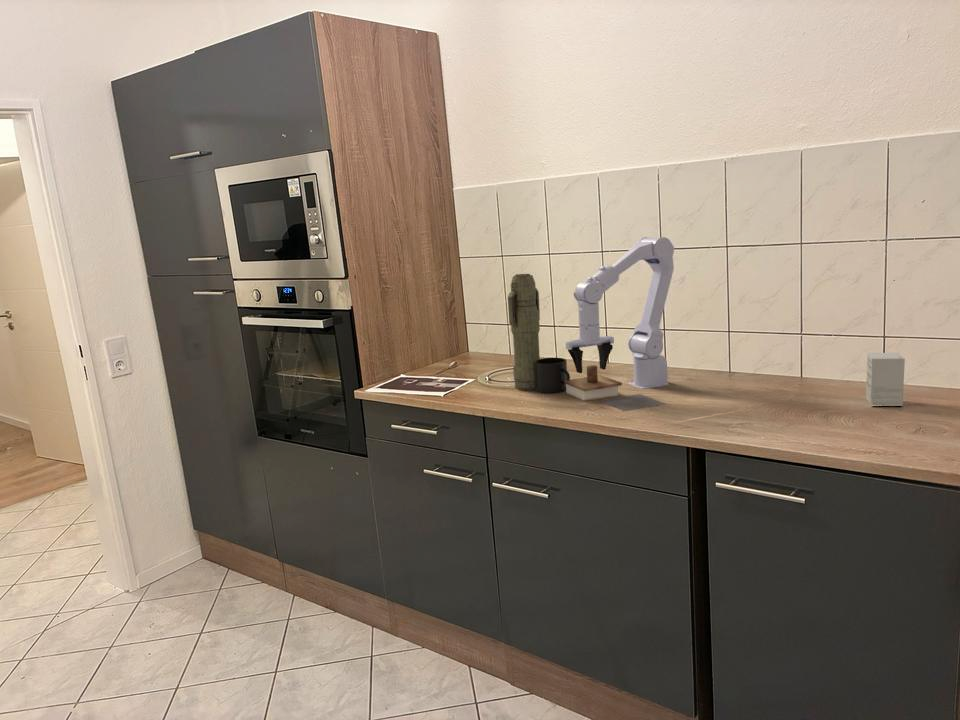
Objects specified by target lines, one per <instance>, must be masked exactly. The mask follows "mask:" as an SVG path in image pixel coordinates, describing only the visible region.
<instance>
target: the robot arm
mask: <svg viewBox="0 0 960 720" xmlns="http://www.w3.org/2000/svg"><path fill="white" fill-rule="evenodd" d="M675 248H676V247H675V246H674V245H673V243H672V241H671V240H670V239H669V238H667V237H664V236H662V237H647V236H644V237H641V238H640V239H639V240H638V241H636V242H634V244H633V246H632V247H631V248H630V249H629V250H627V251H626V252H625V253H624V254H623V255H622V256H621V257H620V258H619V259H617V261H615V262H614V263H613V264H612V265H609V264H607V265H601V266H600V267H599V270H598V271H597V272H596V273H594V274H593V275H592V276H588V277H587V280H586V281H583V282H579V284H577V285H576V288H575V290H574V292H573V297H574V298H575V299H574V300H576V301H577V307H578V309H577V310H578V324H579V325H578V326H579V327H578V329H579V339H575V340H571V341H566V342H565V349H566V350H567V352H568V353H569V355H570V356H571V360H572V361H573V363H574V367H575V370H576V371H575V372H576V373H579V374H582V373H583V354H584V351H583V350H581V348H587V347H594V346H596V347H597V351H598V359H599V362H598V363H599V369H601V370H606V369H607V363H608V359H609V357H610V354H611V352H612V350H613V349H614V347H613V344H615V337H614V336H612V335H609V336H608V335H607V336H601V335H600V333H601V332H600V329H601V328H600V311H599V310H600V307H599V305H600V304H599V302H600V301H601V300H602V298H603V294H604V293H606V292H607V291H608V290H609V289H610V288H612V287H613V286H614V285H616V283H618V282H619V281H620V275H621V274H623V273H624V272H625V271H626V270H628V269H629V268H632V266H633V265H635V264H637V263H638V262H639V261H645V263H646V264H648V265H649V266H650V269H651V270H652V271H653V272H652V277H651V280H650V284H649V288H648V292H647V296H646V301H645V305H644V308H643V313H642V317H641V320H640V323H639V324H637V325H636V326H634V330H633V332H632V335H631V336H630V337H629V338H628V343H627V344H628V345H627V346H628V349H629V351H630V352H631V353H632V356H633V381H632V382H628V385H630V386H633V387H635V388H638V389H640V390H646V389H651V388H657V387H664V386H669V385H670V384H669V382H668V379H669V378H668V362H667V361H668V360H667V359H666V357H665V356H664V355H663V354H661V353H662V352H663V349H664V341H663V339H664V332H663V331H662V329H661V327H660V326H661V323H662V322H661V321H662V316H663V313H664V310H665V306H666V305H665V304H666V301H667V298H668V293H669V289H670V285H671V280H672V277H673V274H674V258H673V257H674V253H675Z"/></svg>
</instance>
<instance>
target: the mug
mask: <svg viewBox="0 0 960 720" xmlns="http://www.w3.org/2000/svg"><path fill="white" fill-rule="evenodd" d="M535 366H536V385H537V389H536V390H537V391H538V392H540V393H542V394H543V393H544V394H556V393H558V394H559V393H562V392H565V391H566V384H565V383H564V381H565V380H571V377H570V373H569V371H568V363H567V359H566V358H562V357H543V358H540V359H539V360H536V361H535Z"/></svg>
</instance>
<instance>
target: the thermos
mask: <svg viewBox="0 0 960 720" xmlns="http://www.w3.org/2000/svg"><path fill="white" fill-rule="evenodd" d="M507 305H508V322H509V325H510V331H511V334H512V341H513V355H514V356H513V358H514V363H513V367H512V371H513V380H514V389H516V390H520V389H521V390H523V391H530V390H531V391H532V390H537V385H536V366H535V361H536V360H539V359H541V358H540V339H539V338H540V337H539V333H540V331H541V330H540V318H541V317H540V316H541V315H540V314H541V312H540V311H541V310H540V293H539V290H538V288H537V286H536V281H535V279H534V276H533V275H532V274H531V273H517V274H514V275H513V276H512V278H511V281H510V292H509V293H508V295H507Z"/></svg>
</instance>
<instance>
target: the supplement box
mask: <svg viewBox="0 0 960 720" xmlns="http://www.w3.org/2000/svg"><path fill="white" fill-rule="evenodd" d="M866 355H867V357H866V358H867V359H866V361H867V362H866V390H865V400H866V399H867V400H868V402H869V403H870V405H876V406H877V405H879V406H880V405H881V406H903V405H904V387H905V386H904V384H905V383H904V382H905V364H906V363H905V362H906V359H905V358H904V356H903V355H902V354H900V353H899V352H867V353H866ZM867 400H866V401H867ZM868 402H867V403H868ZM869 403H868V404H869ZM870 405H869V406H870ZM903 407H904V406H903Z"/></svg>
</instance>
